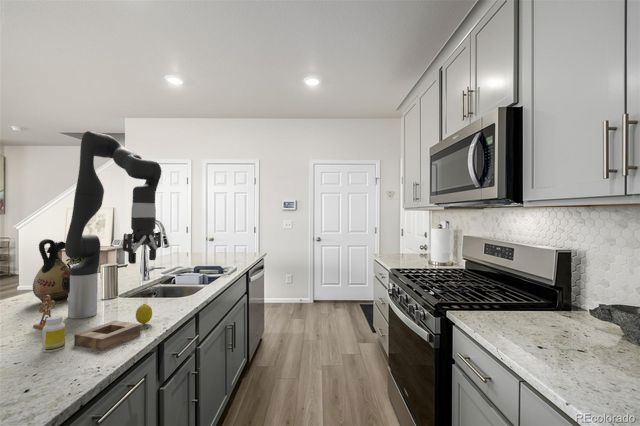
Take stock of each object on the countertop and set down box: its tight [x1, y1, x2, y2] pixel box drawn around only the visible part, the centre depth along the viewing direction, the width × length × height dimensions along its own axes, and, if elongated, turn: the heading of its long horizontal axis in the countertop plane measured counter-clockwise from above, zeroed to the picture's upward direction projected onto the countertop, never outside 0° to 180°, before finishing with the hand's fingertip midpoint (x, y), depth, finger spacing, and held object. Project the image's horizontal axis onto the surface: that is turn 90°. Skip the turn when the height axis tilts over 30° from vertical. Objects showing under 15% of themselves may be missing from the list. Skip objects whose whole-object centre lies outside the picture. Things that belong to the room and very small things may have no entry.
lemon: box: [135, 303, 153, 326], centre depth 120 cm, size 6×6×8 cm
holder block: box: [73, 320, 142, 352], centre depth 106 cm, size 12×14×4 cm
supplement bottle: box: [41, 315, 66, 353], centre depth 98 cm, size 5×5×10 cm
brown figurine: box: [32, 295, 56, 331], centre depth 116 cm, size 9×4×12 cm, turn 71°
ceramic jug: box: [32, 238, 71, 304], centre depth 149 cm, size 17×15×30 cm
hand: (142, 261), depth 112 cm, fingers open, 8 cm apart
